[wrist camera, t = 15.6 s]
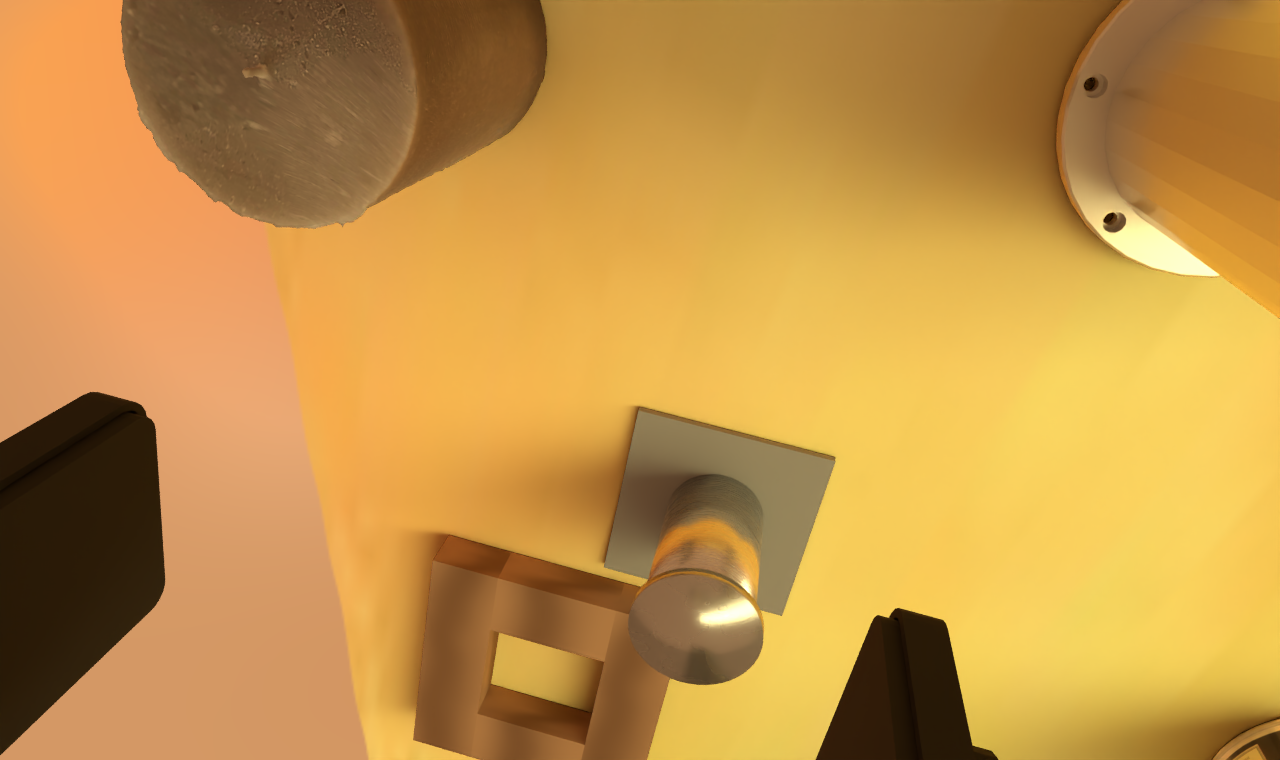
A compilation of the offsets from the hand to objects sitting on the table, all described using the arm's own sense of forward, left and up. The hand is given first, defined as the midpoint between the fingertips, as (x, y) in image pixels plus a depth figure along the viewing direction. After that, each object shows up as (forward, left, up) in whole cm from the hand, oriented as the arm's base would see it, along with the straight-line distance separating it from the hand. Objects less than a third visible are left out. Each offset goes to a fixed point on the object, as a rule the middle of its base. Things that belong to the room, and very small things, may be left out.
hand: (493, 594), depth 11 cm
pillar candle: (+13, -2, -31) cm, 33 cm away
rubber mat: (-4, +18, -30) cm, 35 cm away
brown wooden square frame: (+3, +31, -30) cm, 43 cm away
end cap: (-4, +18, -30) cm, 35 cm away
